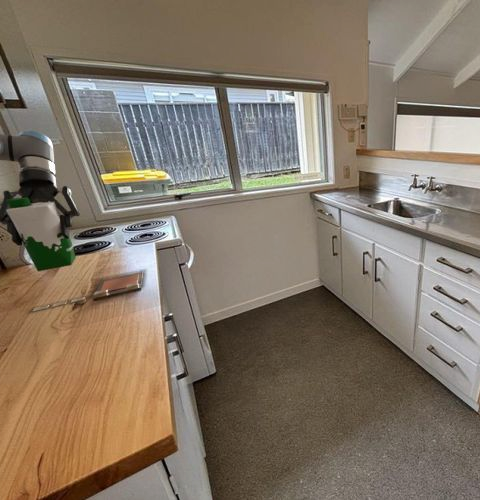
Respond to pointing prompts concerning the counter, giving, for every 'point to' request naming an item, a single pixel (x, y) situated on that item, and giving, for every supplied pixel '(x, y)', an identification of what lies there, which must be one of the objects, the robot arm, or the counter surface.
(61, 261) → the soya milk
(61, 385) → the counter surface
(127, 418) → the counter surface
